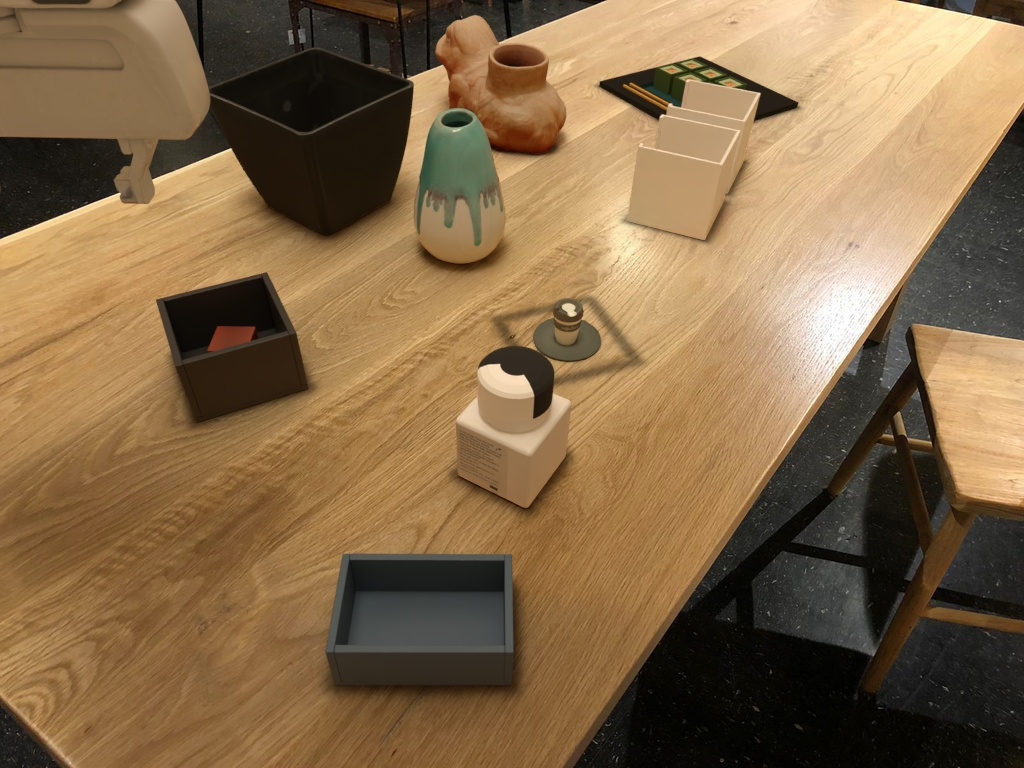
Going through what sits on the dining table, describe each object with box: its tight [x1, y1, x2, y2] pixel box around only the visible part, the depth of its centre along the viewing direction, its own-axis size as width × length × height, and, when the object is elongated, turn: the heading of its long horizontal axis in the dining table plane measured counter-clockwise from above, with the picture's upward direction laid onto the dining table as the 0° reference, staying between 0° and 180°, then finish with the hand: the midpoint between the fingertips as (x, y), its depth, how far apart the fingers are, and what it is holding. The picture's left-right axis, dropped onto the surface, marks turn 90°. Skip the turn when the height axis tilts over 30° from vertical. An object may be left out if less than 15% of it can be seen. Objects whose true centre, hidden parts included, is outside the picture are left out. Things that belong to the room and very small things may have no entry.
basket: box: [155, 271, 309, 423], centre depth 79 cm, size 11×11×8 cm
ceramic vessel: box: [434, 15, 567, 155], centre depth 122 cm, size 14×26×15 cm, turn 40°
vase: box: [413, 108, 507, 265], centre depth 94 cm, size 12×12×18 cm
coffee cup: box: [532, 297, 602, 362], centre depth 85 cm, size 12×12×5 cm
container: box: [455, 345, 572, 509], centre depth 68 cm, size 8×8×13 cm
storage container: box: [626, 79, 761, 241], centre depth 109 cm, size 25×11×11 cm, turn 156°
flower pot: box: [208, 47, 415, 236], centre depth 101 cm, size 19×19×17 cm
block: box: [207, 326, 259, 353], centre depth 80 cm, size 4×4×4 cm
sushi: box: [598, 55, 799, 121], centre depth 136 cm, size 25×25×4 cm
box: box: [325, 553, 515, 686], centre depth 58 cm, size 13×8×5 cm, turn 91°
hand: (62, 198), depth 47 cm, fingers open, 8 cm apart
